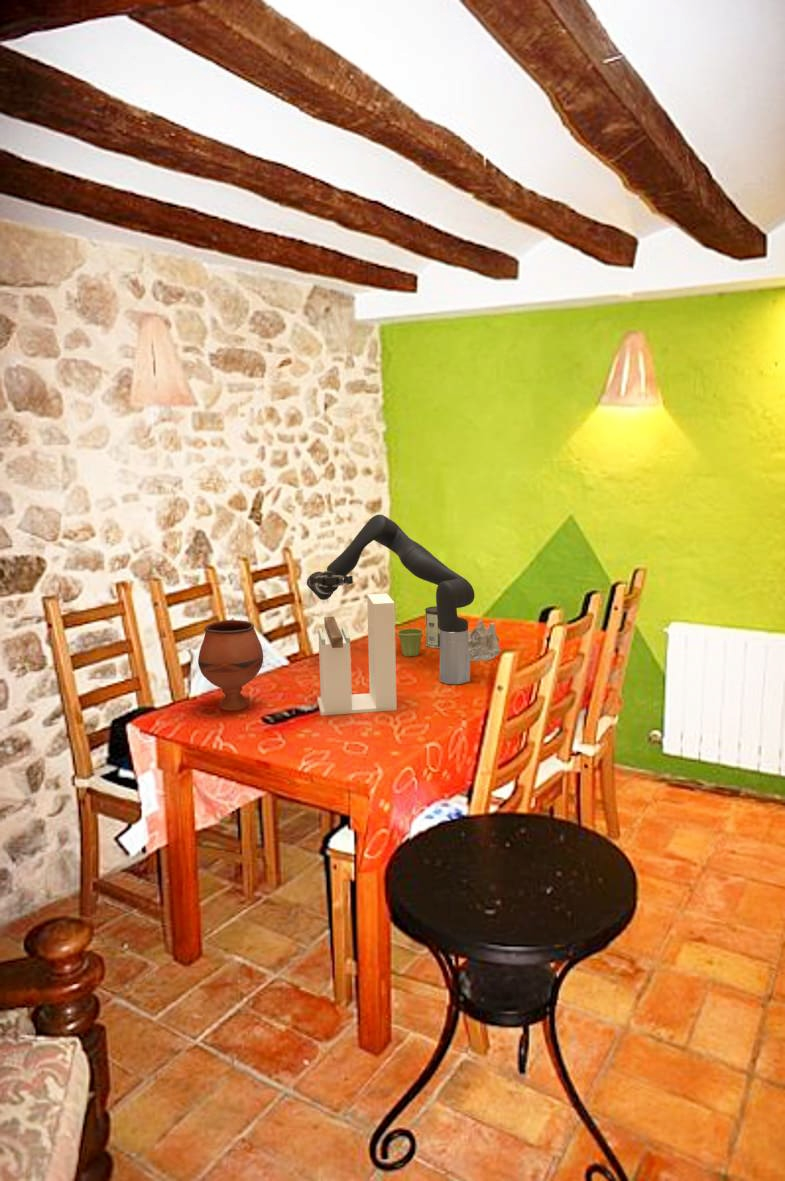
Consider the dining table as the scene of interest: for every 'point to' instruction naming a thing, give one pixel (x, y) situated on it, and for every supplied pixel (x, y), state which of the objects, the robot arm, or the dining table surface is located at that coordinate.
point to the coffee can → (432, 628)
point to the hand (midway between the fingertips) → (333, 579)
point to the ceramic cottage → (483, 643)
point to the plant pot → (410, 641)
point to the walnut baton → (333, 632)
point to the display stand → (381, 665)
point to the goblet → (230, 659)
